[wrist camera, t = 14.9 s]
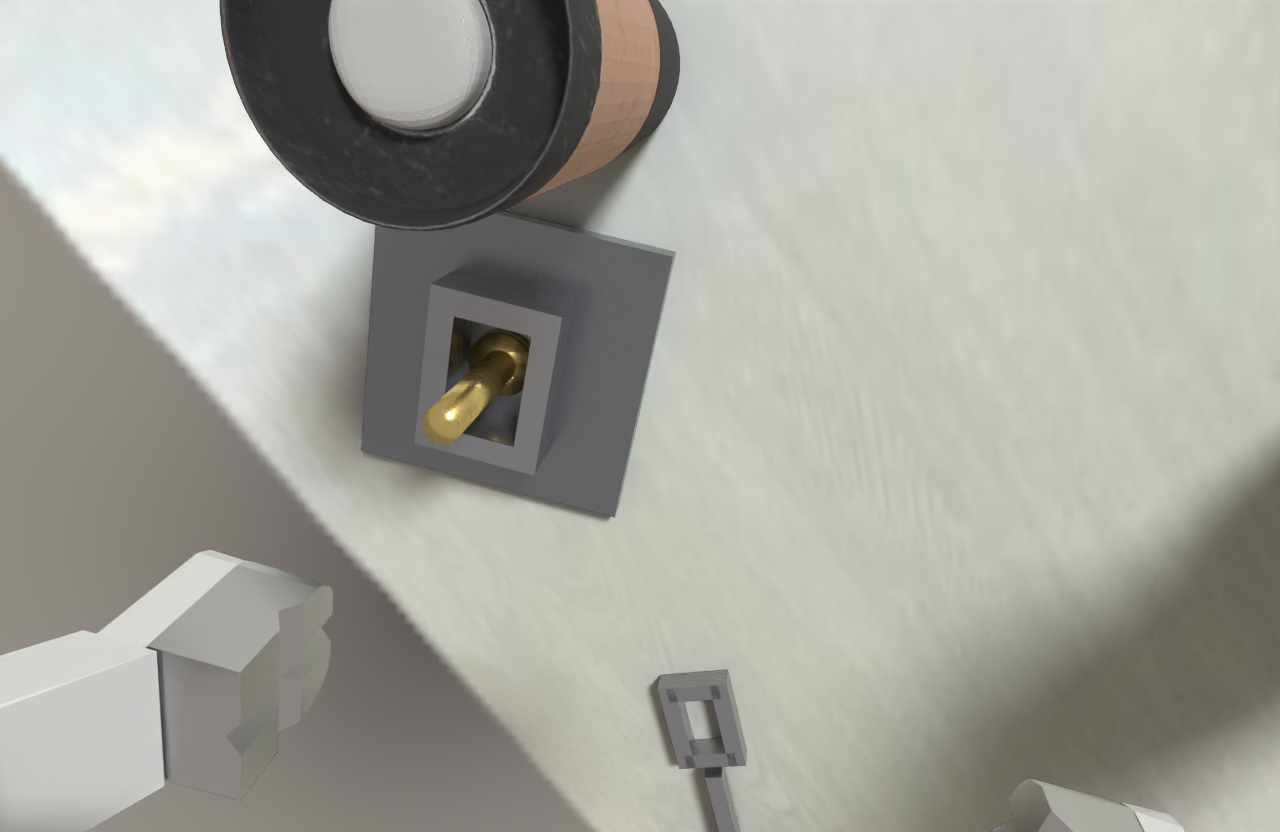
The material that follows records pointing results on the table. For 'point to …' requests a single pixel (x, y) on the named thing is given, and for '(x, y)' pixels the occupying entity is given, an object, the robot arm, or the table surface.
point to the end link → (447, 363)
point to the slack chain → (706, 750)
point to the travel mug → (448, 97)
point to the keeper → (518, 350)
